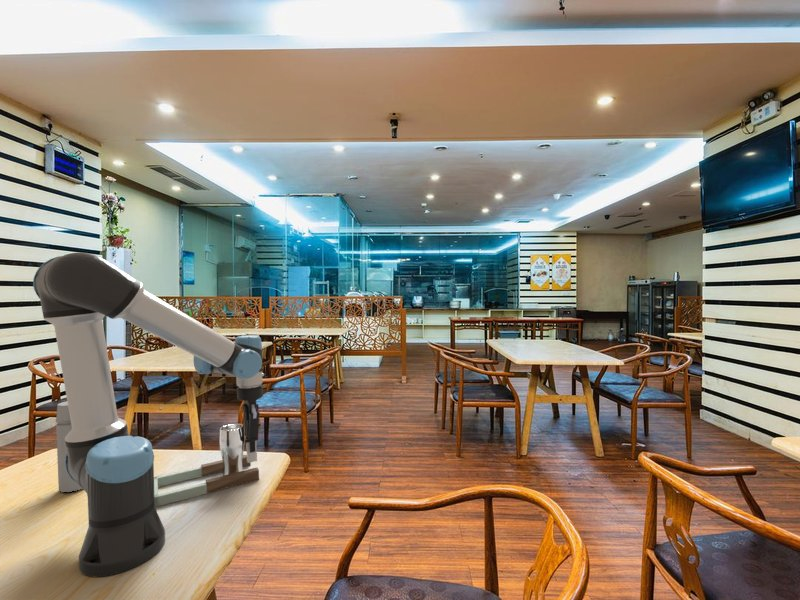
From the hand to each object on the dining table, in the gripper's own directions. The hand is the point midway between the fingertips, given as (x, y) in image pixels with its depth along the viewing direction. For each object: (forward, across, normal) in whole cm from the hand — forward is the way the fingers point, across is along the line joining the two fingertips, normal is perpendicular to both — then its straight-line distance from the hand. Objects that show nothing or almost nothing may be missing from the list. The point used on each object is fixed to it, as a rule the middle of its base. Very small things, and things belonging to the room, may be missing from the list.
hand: (251, 461), depth 123 cm
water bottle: (+4, +19, +44) cm, 49 cm away
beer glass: (+4, 0, +6) cm, 7 cm away
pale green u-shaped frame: (+3, 0, +20) cm, 20 cm away
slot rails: (+3, 0, +6) cm, 7 cm away
